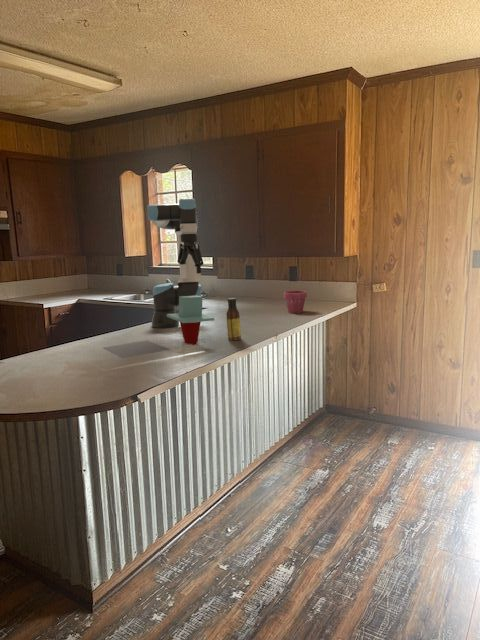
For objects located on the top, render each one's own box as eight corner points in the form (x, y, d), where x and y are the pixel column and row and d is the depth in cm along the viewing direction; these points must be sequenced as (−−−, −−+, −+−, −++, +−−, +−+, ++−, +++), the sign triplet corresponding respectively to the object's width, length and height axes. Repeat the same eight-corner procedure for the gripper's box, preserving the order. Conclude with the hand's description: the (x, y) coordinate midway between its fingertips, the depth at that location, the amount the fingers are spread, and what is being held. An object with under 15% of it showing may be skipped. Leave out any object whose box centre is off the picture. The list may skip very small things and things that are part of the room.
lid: (166, 316, 227) (167, 294, 225) (196, 314, 236) (197, 293, 234) (183, 323, 214) (184, 300, 212) (214, 320, 224) (215, 298, 222)
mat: (102, 349, 221) (102, 347, 221) (147, 342, 234) (147, 340, 234) (123, 359, 202) (122, 357, 202) (170, 351, 215) (170, 349, 215)
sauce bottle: (242, 338, 236) (241, 297, 232) (238, 341, 230) (237, 299, 226) (230, 337, 238) (228, 297, 234) (225, 340, 232) (224, 299, 229)
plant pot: (282, 310, 314) (281, 290, 311) (303, 309, 315) (303, 289, 313) (286, 314, 300) (286, 293, 297) (309, 313, 301) (309, 292, 299)
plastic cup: (199, 346, 221) (198, 320, 219) (176, 346, 223) (175, 320, 221) (205, 341, 232) (204, 316, 229) (184, 341, 234) (182, 316, 232)
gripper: (168, 233, 232) (171, 277, 236) (195, 233, 212) (197, 282, 216) (182, 232, 236) (184, 276, 241) (210, 233, 216) (211, 280, 220)
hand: (190, 279), depth 228 cm, fingers open, 13 cm apart
